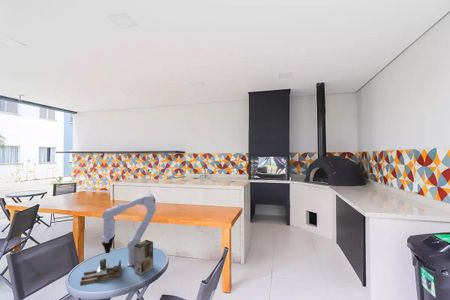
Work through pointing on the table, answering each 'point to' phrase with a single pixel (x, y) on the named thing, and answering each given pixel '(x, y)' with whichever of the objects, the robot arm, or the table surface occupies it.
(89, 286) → the table surface
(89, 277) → the nut press
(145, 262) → the coffee box
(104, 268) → the press carriage
